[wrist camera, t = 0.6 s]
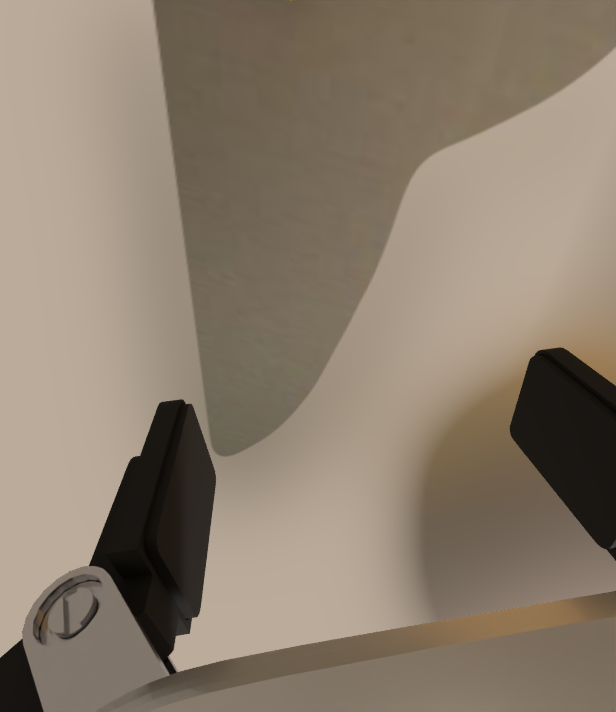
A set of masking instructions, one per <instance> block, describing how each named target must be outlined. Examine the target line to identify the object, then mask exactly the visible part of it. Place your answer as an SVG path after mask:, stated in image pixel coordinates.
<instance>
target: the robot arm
mask: <svg viewBox="0 0 616 712" xmlns="http://www.w3.org/2000/svg"><path fill="white" fill-rule="evenodd" d="M510 433H511V436H512V438H513V439H514V441H515V442H516V443H517V445H518V446H519V447H520V449H521V450H522V451H523V452H524V454H525V455H526V456H527V457H528V458H529V460H530V461H531V462H532V463H533V465H534V466H535V467H536V468H537V470H538V471H539V472H540V473H541V475H542V476H543V477H544V478H545V479H546V481H547V482H548V483H549V485H550V486H551V487H552V488H553V490H554V491H555V492H556V493H557V495H558V496H559V497H560V498H561V499H562V501H563V502H564V503H565V505H566V506H567V507H568V508H569V510H570V511H571V512H572V513H573V515H574V516H575V517H576V518H577V519H578V521H579V522H580V523H581V524H582V526H583V527H584V528H585V529H586V531H587V532H588V533H589V534H590V536H591V537H592V538H593V539H594V540H595V542H596V543H597V544H598V545H599V546H600V547H602V548H604V549H607V550H608V552H609V553H610V554H611V555H612V556H613V558H614V559H615V560H616V386H615V385H614V384H612V383H611V382H610V381H608V380H607V379H605V378H604V377H603V376H601V375H600V374H599V373H597V372H596V371H595V370H593V369H592V368H591V367H589V366H588V365H586V364H585V363H584V362H582V361H581V360H580V359H578V358H577V357H576V356H574V355H573V354H572V353H570V352H569V351H567V350H566V349H564V348H553V349H546V350H540V351H538V352H537V353H536V354H535V356H534V357H532V358H531V359H530V361H529V364H528V368H527V371H526V374H525V378H524V381H523V385H522V388H521V391H520V394H519V398H518V401H517V404H516V408H515V411H514V415H513V418H512V422H511V425H510ZM215 485H216V475H215V470H214V467H213V464H212V461H211V458H210V455H209V452H208V449H207V446H206V443H205V440H204V437H203V434H202V431H201V429H200V426H199V423H198V420H197V417H196V414H195V411H194V408H193V406H192V404H185V402H184V400H174V401H166V402H161V403H160V404H159V406H158V408H157V410H156V414H155V416H154V419H153V422H152V424H151V427H150V430H149V433H148V435H147V438H146V441H145V444H144V446H143V449H142V452H141V455H140V456H137V457H133V458H132V459H131V460H130V462H129V464H128V466H127V469H126V471H125V474H124V477H123V479H122V482H121V484H120V487H119V489H118V492H117V495H116V497H115V500H114V502H113V505H112V508H111V510H110V513H109V516H108V518H107V520H106V523H105V526H104V528H103V531H102V533H101V536H100V539H99V541H98V544H97V546H96V549H95V552H94V554H93V557H92V560H91V562H90V564H89V566H86V567H81V568H78V569H75V570H72V571H70V572H68V573H67V574H65V575H63V576H62V577H60V578H58V579H57V580H56V581H55V582H53V583H52V584H51V585H50V586H49V587H48V588H47V589H45V590H44V592H43V593H42V594H41V595H40V597H39V598H38V599H37V600H36V601H35V603H34V604H33V606H32V608H31V610H30V612H29V614H28V615H27V617H26V620H25V624H24V628H23V631H22V634H23V639H22V640H21V641H19V642H18V643H17V644H16V645H15V646H13V647H12V648H11V649H10V650H9V651H8V652H7V653H6V654H4V655H3V656H2V657H1V658H0V712H616V591H614V592H608V593H602V594H596V595H590V596H584V597H578V598H572V599H566V600H560V601H554V602H548V603H542V604H536V605H531V606H524V607H519V608H513V609H507V610H501V611H495V612H489V613H483V614H478V615H472V616H466V617H460V618H455V619H449V620H443V621H438V622H431V623H425V624H420V625H414V626H408V627H403V628H397V629H391V630H386V631H380V632H374V633H369V634H363V635H357V636H352V637H346V638H341V639H335V640H329V641H324V642H318V643H312V644H306V645H301V646H296V647H291V648H285V649H281V650H275V651H270V652H266V653H260V654H255V655H250V656H245V657H240V658H235V659H229V660H224V661H220V662H216V663H212V664H208V665H204V666H201V667H196V668H192V669H189V670H185V671H181V672H178V670H177V669H176V667H175V665H174V664H173V662H172V661H171V659H170V657H169V655H170V654H171V653H172V651H173V650H174V643H175V637H176V636H177V635H184V634H189V633H190V628H191V621H192V618H194V617H198V615H199V612H200V608H201V600H202V591H203V584H204V575H205V567H206V559H207V551H208V543H209V534H210V526H211V518H212V510H213V501H214V494H215Z"/></svg>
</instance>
